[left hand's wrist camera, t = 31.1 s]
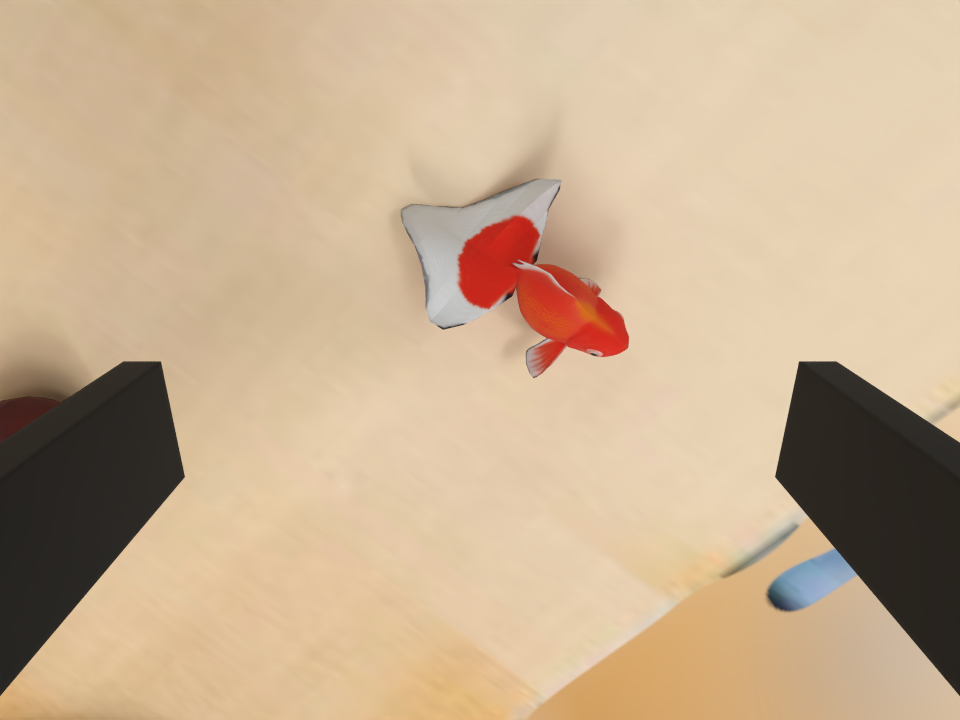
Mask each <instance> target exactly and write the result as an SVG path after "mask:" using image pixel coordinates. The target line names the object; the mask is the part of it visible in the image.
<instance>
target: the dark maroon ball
mask: <svg viewBox="0 0 960 720" xmlns="http://www.w3.org/2000/svg"><path fill="white" fill-rule="evenodd" d="M58 404H60V403H59V402H57V401H55V400H51V399H45V398H38V397H23V398H16V399H9V400H3V401H0V443H1V442H2V441H4V440H5V439H7V438H8V437H10V436H11V435H13V434H14V433H16V432H17V431H19V430H20V429H22V428H23V427H25V426H26V425H28V424H29V423H31V422H32V421H34V420H35V419H37V418H39V417H40V416H42V415H43V414H45V413H46V412H48V411H49V410H51V409H52V408H54V407H55V406H57V405H58Z"/></svg>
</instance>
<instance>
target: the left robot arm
mask: <svg viewBox="0 0 960 720" xmlns="http://www.w3.org/2000/svg"><path fill="white" fill-rule="evenodd" d="M184 477H185V475H184V471H183V466H182V461H181V456H180V451H179V447H178V442H177V437H176V432H175V427H174V423H173V418H172V413H171V408H170V403H169V399H168V394H167V389H166V384H165V379H164V374H163V370H162V365H161V362H122V363H121V364H119V365H118V366H116V367H115V368H113V369H111V370H110V371H108V372H107V373H105V374H104V375H102V376H101V377H99V378H98V379H96V380H95V381H93V382H92V383H90V384H89V385H87V386H86V387H84V388H83V389H81V390H80V391H78V392H77V393H75V394H73V395H72V396H70V397H69V398H67V399H66V400H64V401H63V402H61V403H60V404H58V405H57V406H55V407H54V408H52V409H51V410H49V411H48V412H46V413H45V414H43V415H42V416H40V417H39V418H37V419H35V420H34V421H32V422H31V423H29V424H28V425H26V426H25V427H23V428H22V429H20V430H19V431H17V432H16V433H14V434H13V435H11V436H10V437H8V438H7V439H5V440H4V441H2V442H1V443H0V696H1V694H2V693H3V692H4V691H5V690H6V688H7V687H8V686H9V685H10V684H11V682H12V681H13V680H14V679H15V678H16V677H17V675H18V674H19V673H20V672H21V671H22V669H23V668H24V667H25V666H26V665H27V663H28V662H29V661H30V660H31V659H32V658H33V656H34V655H35V654H36V653H37V652H38V650H39V649H40V648H41V647H42V646H43V645H44V643H45V642H46V641H47V640H48V639H49V637H50V636H51V635H52V634H53V633H54V631H55V630H56V629H57V628H58V627H59V626H60V624H61V623H62V622H63V621H64V620H65V618H66V617H67V616H68V615H69V614H70V613H71V611H72V610H73V609H74V608H75V607H76V605H77V604H78V603H79V602H80V601H81V599H82V598H83V597H84V596H85V595H86V594H87V592H88V591H89V590H90V589H91V588H92V586H93V585H94V584H95V583H96V582H97V581H98V579H99V578H100V577H101V576H102V575H103V573H104V572H105V571H106V570H107V569H108V567H109V566H110V565H111V564H112V563H113V562H114V560H115V559H116V558H117V557H118V556H119V554H120V553H121V552H122V551H123V550H124V548H125V547H126V546H127V545H128V544H129V543H130V541H131V540H132V539H133V538H134V537H135V535H136V534H137V533H138V532H139V531H140V530H141V528H142V527H143V526H144V525H145V524H146V522H147V521H148V520H149V519H150V518H151V516H152V515H153V514H154V513H155V512H156V511H157V509H158V508H159V507H160V506H161V505H162V503H163V502H164V501H165V500H166V499H167V498H168V496H169V495H170V494H171V493H172V492H173V490H174V489H175V488H176V487H177V486H178V484H179V483H180V482H181V481H182V480H183V479H184ZM775 477H776V479H777V480H778V481H779V482H780V483H781V484H782V486H783V487H784V488H785V489H786V490H787V492H788V493H789V494H790V495H791V496H792V498H793V499H794V500H795V501H796V502H797V503H798V505H799V506H800V507H801V508H802V509H803V511H804V512H805V513H806V514H807V515H808V516H809V518H810V519H811V520H812V521H813V522H814V524H815V525H816V526H817V527H818V528H819V530H820V531H821V532H822V533H823V534H824V535H825V537H826V538H827V539H828V540H829V541H830V542H831V544H832V545H833V546H834V547H835V549H836V550H837V551H838V552H839V553H840V554H841V556H842V557H843V558H844V559H845V560H846V562H847V563H848V564H849V565H850V566H851V567H852V569H853V570H854V571H855V572H856V573H857V575H858V576H859V577H860V578H861V579H862V581H863V582H864V583H865V584H866V585H867V586H868V588H869V589H870V590H871V591H872V592H873V594H874V595H875V596H876V597H877V598H878V599H879V601H880V602H881V603H882V604H883V605H884V607H885V608H886V609H887V610H888V611H889V613H890V614H891V615H892V616H893V617H894V618H895V620H896V621H897V622H898V623H899V624H900V626H901V627H902V628H903V629H904V630H905V631H906V633H907V634H908V635H909V636H910V637H911V639H912V640H913V641H914V642H915V643H916V644H917V646H918V647H919V648H920V649H921V650H922V652H923V653H924V654H925V655H926V656H927V658H928V659H929V660H930V661H931V662H932V663H933V665H934V666H935V667H936V668H937V669H938V671H939V672H940V673H941V674H942V675H943V677H944V678H945V679H946V680H947V681H948V682H949V684H950V685H951V686H952V687H953V688H954V690H955V691H956V692H957V693H958V694H959V696H960V443H959V442H958V441H956V440H955V439H953V438H952V437H950V436H949V435H947V434H946V433H944V432H943V431H941V430H940V429H938V428H937V427H935V426H934V425H932V424H931V423H929V422H928V421H926V420H925V419H923V418H921V417H920V416H918V415H917V414H915V413H914V412H912V411H911V410H909V409H908V408H906V407H905V406H903V405H902V404H900V403H899V402H897V401H896V400H894V399H893V398H891V397H890V396H888V395H887V394H885V393H883V392H882V391H880V390H879V389H877V388H876V387H874V386H873V385H871V384H870V383H868V382H867V381H865V380H864V379H862V378H861V377H859V376H858V375H856V374H855V373H853V372H852V371H850V370H849V369H847V368H845V367H844V366H842V365H841V364H839V363H838V362H799V365H798V370H797V374H796V379H795V384H794V389H793V394H792V399H791V403H790V408H789V413H788V418H787V423H786V427H785V432H784V437H783V442H782V447H781V451H780V456H779V461H778V466H777V471H776V475H775Z"/></svg>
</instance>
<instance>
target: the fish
mask: <svg viewBox="0 0 960 720" xmlns="http://www.w3.org/2000/svg"><path fill="white" fill-rule="evenodd" d="M560 185H561V180H551V179H534V180H532V181H529V182H526V183H524V184H521V185H518V186H516V187H513V188H510V189H508V190H505V191H503V192H501V193H498V194H496V195H494V196H492V197H489V198H487V199H485V200H483V201H480V202H477V203H474V204H471V205H469V206H466V207H463V208H461V207H442V206H428V205H419V204H411V205H409V206H407V207H405V208H403V209H401V218H402V222H403V224H404V227H405V229H406V231H407V233H408V235H409V237H410V239H411V240H412V242H413V244H414V246H415V248H416V250H417V253H418V256H419V259H420V262H421V265H422V270H423V275H424V281H425V286H426V310H427V313H428V317H429V320H430V322H432V323H433V324H435V325H437V326H438V327H440V328H441V329H443V330H444V329H448V328H452V327H456V326H460V325H464V324H466V323H468V322H471V321H473V320H475V319H477V318H479V317H481V316H482V315H484V314H486V313H487V312H489V311H490V310H492V309H494V308H495V307H497V306H498V305H500V304H501V303H503V302H504V301H506V300H507V299H509V298H510V297H512V295H513V293H514V291H515V288H516V287H517V297H518V303H519V308H520V311H521V313H522V315H523V317H524V319H525V320H526V322H527V323H528V324H529V326H530V327H531V328H532V329H534V330H535V331H536V332H538V333H539V334H541V335H542V336H544V337H546V338H547V339H545V340H543V341H542V342H540V343H539V344H537V345H535V346H533V347H531V348H529V349H528V350H527V352H526V365H527V367H528V370H529V372H530V374H531V375H532V376H533V378H535V377H537V376H539V375H540V374H542V373H543V372H544V371H545V370H546V369H547V368H548V367H549V366H550V365H551V364H552V363H553V362H554V361H555V360H556V359H557V358H558V356H559V355H560V354H561V353H562V351H563V350H564V349H565V348H566V346H567V347H570V348H573V349H577V350H580V351H583V352H585V353H588V354H590V355H593V356H597V357H607V356H613V355H617V354H619V353H621V352H623V351H624V350H626V349H627V348H628V344H629V336H628V333H627V331H626V328H625V324H624V318H623V316H622V315H621V314H620V313H619V312H617V311H615V310H613V309H612V308H611V307H610V306H609V305H608V304H607V303H606V302H605V301H604V300H602V299H601V298H600V297H598V295H599V294H600V292H601V289H600V288H599V287H598V285H597V284H596V283H595V282H594V281H591V280H589V279H581V278H580V279H579V278H578V277H576V276H575V275H573V274H572V273H570V272H568V271H566V270H564V269H562V268H560V267H557V266H554V265H548V264H540V265H533V264H534V263H535V262H536V261H537V257H538V252H539V248H540V243H541V238H542V234H543V231H544V227H545V224H546V219H547V214H548V210H549V208H550V206H551V204H552V202H553V200H554V199H555V197H556V195H557V193H558V191H559V189H560Z"/></svg>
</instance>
